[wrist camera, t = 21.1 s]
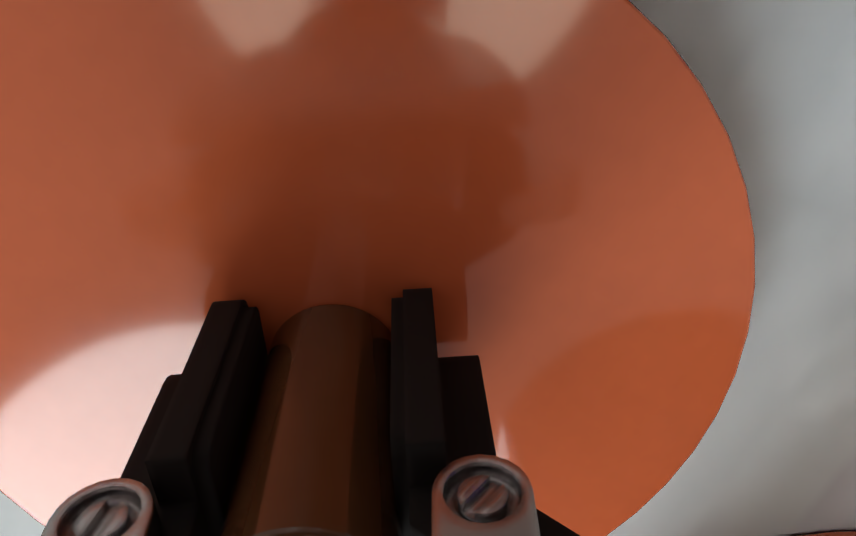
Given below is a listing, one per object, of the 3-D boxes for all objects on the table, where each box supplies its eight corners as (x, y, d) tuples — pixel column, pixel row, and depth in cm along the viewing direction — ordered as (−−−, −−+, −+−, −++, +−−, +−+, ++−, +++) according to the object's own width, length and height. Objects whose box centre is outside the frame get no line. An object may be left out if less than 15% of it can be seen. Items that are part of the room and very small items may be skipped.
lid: (130, -410, 9) (-296, -865, 3) (899, 229, 13) (1228, 460, 8) (-180, 410, 15) (-510, 719, 9) (431, 647, 19) (445, 938, 14)
